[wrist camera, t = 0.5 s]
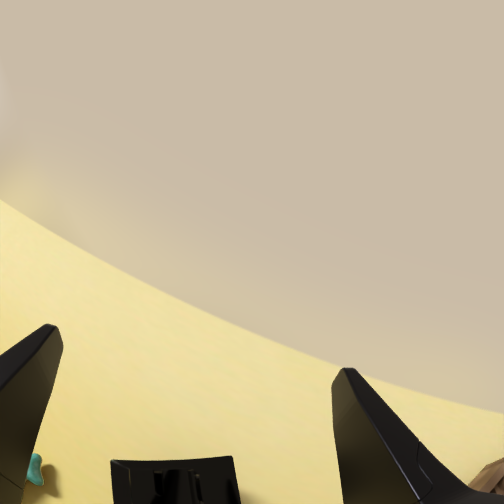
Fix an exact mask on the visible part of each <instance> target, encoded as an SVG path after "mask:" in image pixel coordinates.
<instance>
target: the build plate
mask: <svg viewBox="0 0 504 504" xmlns="http://www.w3.org/2000/svg"><path fill="white" fill-rule="evenodd" d="M110 464H111V479H112V491H113V501H114V504H241V501H240V495H239V490H238V484H237V479H236V473H235V467H234V462H233V457H232V456H222V457H213V458H202V459H187V460H163V461H134V460H111V461H110Z"/></svg>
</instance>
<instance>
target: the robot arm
mask: <svg viewBox="0 0 504 504" xmlns="http://www.w3.org/2000/svg"><path fill="white" fill-rule="evenodd" d="M62 352H63V341H62V338H61V335H60V332H59V329H58V327H57V326H55V325H51V324H45V325H43V326H41V327H40V328H39V329H37V330H36V331H34V332H33V333H31V334H30V335H28V336H27V337H25V338H24V339H23V340H21V341H20V342H18V343H17V344H16V345H14V346H13V347H11V348H10V349H8V350H7V351H6V352H4V353H3V354H1V355H0V504H21V502H22V497H23V492H24V490H23V489H24V486H25V482H26V477H27V473H28V469H29V465H30V461H31V457H32V453H33V449H34V446H35V442H36V439H37V435H38V432H39V429H40V426H41V422H42V419H43V416H44V413H45V410H46V407H47V404H48V401H49V398H50V396H51V393H52V390H53V386H54V382H55V378H56V374H57V370H58V367H59V363H60V359H61V356H62ZM331 391H332V412H333V430H334V438H335V444H336V451H337V458H338V465H339V472H340V479H341V487H342V495H343V503H344V504H504V495H501V494H494V493H488V492H482V491H477V490H474V489H472V488H470V487H468V486H467V485H466V484H464V483H463V482H462V481H461V480H460V479H459V478H457V477H456V476H455V475H454V474H453V473H452V472H451V471H450V470H448V469H447V468H446V467H445V466H444V465H443V464H442V463H441V462H440V461H439V460H438V459H437V458H435V456H434V455H433V454H432V453H431V452H430V451H429V450H428V449H427V448H426V447H425V446H424V445H423V444H422V443H421V441H419V439H418V438H417V437H416V436H415V435H414V434H413V433H412V432H411V430H410V429H409V428H408V427H407V426H406V425H405V424H404V423H403V422H402V420H401V419H400V418H399V417H398V416H397V415H396V414H395V413H394V411H393V410H392V409H391V408H390V407H389V406H388V405H387V404H386V403H385V401H384V400H383V399H382V398H381V397H380V396H379V395H378V394H377V393H376V391H375V390H374V389H373V388H372V387H371V386H370V385H369V384H368V383H367V381H366V380H365V379H364V378H363V377H362V376H361V375H360V374H359V373H358V371H357V370H356V369H354V368H342V369H341V370H340V371H339V373H338V375H337V376H336V378H335V379H334V381H333V383H332V387H331Z"/></svg>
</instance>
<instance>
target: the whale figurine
mask: <svg viewBox="0 0 504 504" xmlns="http://www.w3.org/2000/svg"><path fill="white" fill-rule="evenodd" d="M41 464H42V458H41V456H40V455H38V454H36V453H33V454H32V457H31V461H30V465H29V469H28V473H27V477H26V480H29V481H31V482H32V483H33V484H35V485H37V486H42V485H43V484H44V479H43V477H42V473H41Z"/></svg>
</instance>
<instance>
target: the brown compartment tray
mask: <svg viewBox="0 0 504 504" xmlns="http://www.w3.org/2000/svg"><path fill="white" fill-rule="evenodd" d="M468 487H470V488H472V489H474V490H477V491H482V492H488V493H494V494H501V495H504V458H502V459H500V460H498V461H495V462H493V463H491V464H489V465H486V466H485V468H484V469H483V470H482V471H481V472H480V473H479V474H478V475H477V476H476V477H475V478H474V479H473V480H472V482H471V483H470V484H469V485H468Z"/></svg>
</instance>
